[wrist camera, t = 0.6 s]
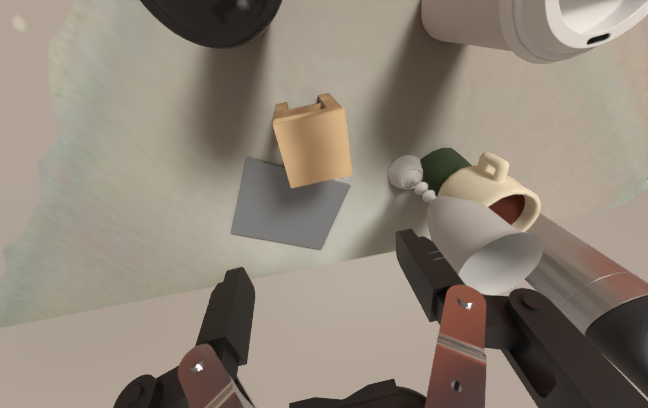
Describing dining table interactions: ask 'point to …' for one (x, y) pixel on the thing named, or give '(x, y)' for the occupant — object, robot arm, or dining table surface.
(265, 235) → the mat
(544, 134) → the dining table surface
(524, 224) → the character mug
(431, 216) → the chalice
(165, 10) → the drinking cup
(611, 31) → the coffee cup
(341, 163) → the light wood stool
